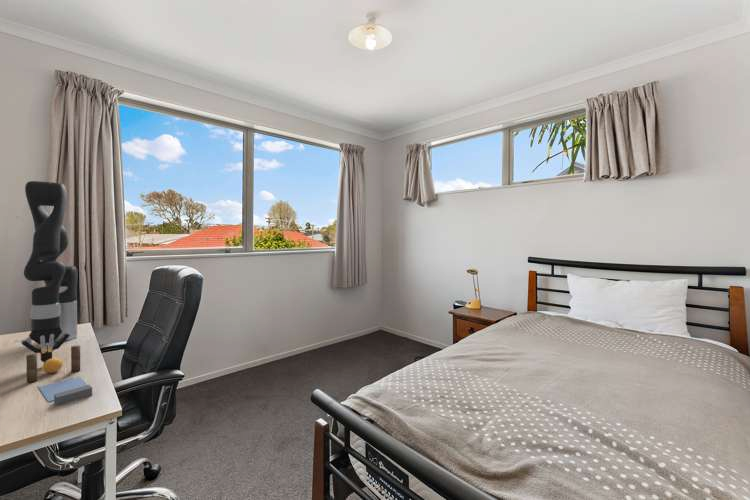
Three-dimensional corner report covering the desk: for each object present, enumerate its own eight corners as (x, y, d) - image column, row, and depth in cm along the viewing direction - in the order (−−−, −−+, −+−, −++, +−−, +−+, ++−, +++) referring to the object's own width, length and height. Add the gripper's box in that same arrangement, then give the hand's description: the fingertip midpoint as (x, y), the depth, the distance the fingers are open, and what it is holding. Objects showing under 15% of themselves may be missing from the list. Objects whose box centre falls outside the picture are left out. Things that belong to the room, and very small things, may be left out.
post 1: (26, 381, 107) (25, 355, 107) (36, 379, 109) (36, 353, 109) (27, 383, 106) (27, 356, 105) (38, 381, 108) (37, 354, 107)
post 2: (70, 371, 116) (70, 346, 116) (79, 369, 118) (79, 344, 118) (72, 373, 115) (72, 348, 114) (81, 370, 117) (81, 346, 116)
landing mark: (38, 387, 104) (38, 387, 104) (79, 377, 112) (79, 376, 112) (48, 402, 96) (48, 401, 96) (91, 389, 104) (91, 389, 104)
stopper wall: (54, 402, 96) (54, 394, 95) (89, 392, 102) (89, 384, 102) (56, 406, 94) (56, 397, 94) (92, 395, 100) (92, 387, 100)
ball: (45, 372, 111) (42, 376, 113) (65, 367, 115) (61, 371, 117) (43, 358, 112) (39, 363, 114) (62, 354, 116) (59, 358, 118)
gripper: (67, 310, 126) (68, 354, 127) (17, 317, 115) (18, 364, 116) (72, 314, 122) (73, 359, 123) (21, 321, 111) (21, 370, 112)
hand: (46, 362), depth 119 cm, fingers closed
